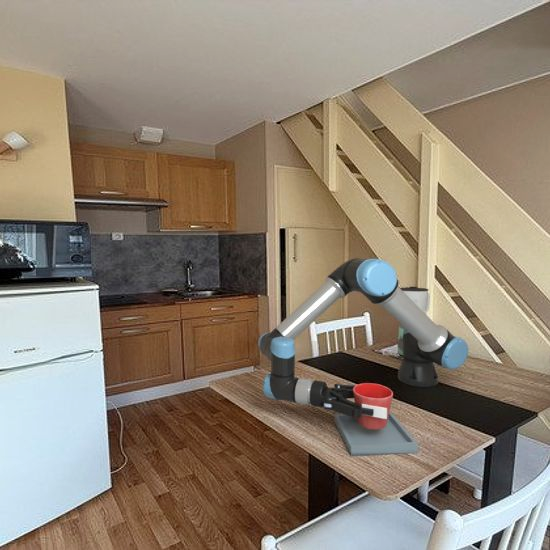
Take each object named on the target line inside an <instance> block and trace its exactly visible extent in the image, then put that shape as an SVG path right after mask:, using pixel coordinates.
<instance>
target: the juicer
mask: <svg viewBox="0 0 550 550" xmlns="http://www.w3.org/2000/svg"><path fill="white" fill-rule="evenodd" d="M399 288H400V289H401V290H402V291H403V292H404V293H405V294H406V295H407V296H408V297H409V298H410V299H411V300H412V301H413V302H414V303H415V304H416V305H417V306H418V307H419V308H420V309H421V310H422V311H423V312H424V313H425V314H427V312H428V311H430V301H431V300H430V293H429V290H430V289H429V288H424V287H417V286H407V287H404V286H403V287H399ZM403 330H404V327H403V326H402V325H401V324H400V323H399V327H398V331H397V332H398V337H397V340H398V341H397V355H398V354H399V355H400V356H402V357H401V358H403Z"/></svg>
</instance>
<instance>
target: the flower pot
mask: <svg viewBox="0 0 550 550" xmlns="http://www.w3.org/2000/svg"><path fill="white" fill-rule="evenodd" d="M353 394H354V398H353V400H354V401H353V402H354V403H356V404H359V405H361V407H362V404H366V405H370V406H378V407H384V408H387V419H388V415H389V412H391V406H392V401H393V398H394V397H393V396H394V392H393V390H391V388H389V387H387V386H385V385H382V384H378V383H370V382H365V383H358V384H356V385H355V387H354V388H353ZM387 419H383V418H378V417H372V416H367V415H362V414H361V418H358V422H359V424H360V425H362V426H363V427H365V428H368V429H382V428H384V427H385V426H386V423H387Z"/></svg>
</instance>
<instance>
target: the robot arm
mask: <svg viewBox="0 0 550 550" xmlns="http://www.w3.org/2000/svg"><path fill="white" fill-rule="evenodd" d="M396 276H397V272H396V270H395V268H394V267H393V266H392V265H391V264H390V263H389V262H387V261H386V260H382V259H379V258H358V257H357V258H351V259H348V260H347V261H345V262H343V263H341V265H339V266H337V267H336V268H335V269H334V270H333V271H332V272H331V273H330V274H328V275H327V276H326V277H325V279H324V281H325V282H324V283H323V284H322V285H321V286H320V287H319V288H318V289H316V291H314V292H313V293H312V294H311V295H310V296H309V297H307V298H306V300H304V301H303V302H302V303H301V304H300V305H299V306H298V307H297V308H296V309H294V311H293V312H291V313H290V314H289V315H288V316H287V317H286V318H284V319H283V321H281V322H280V323H278V325H277V326H276V327H275V328H274V329H273V330H271V332H265V333H262V334H261V336H260V337H259V338H258V341H257V346H258V348H259V350H260V352H261V354H262V355H264V356H265V357H266V358H267V360H268V361H269V362H270V373H267V374H266V375H265V376H264V380H263V385H262V393H263V395H264V396H265V397H266V398H268V399H269V398H270V399H273V400H276V401H285V402H288V403H289V402H290V403H295V404H301V405H302V406H304V405H306V406H310V405H311V407H315V408H321V409H322V408H323V409H324V410H327V411H332V412H335V413H337V414H344V415H348V416H351V417H354V418H361V414H362V415H367V416H372V417H378V418H383V419H387V408H384V407H378V406H370V405H366V404H362V407H361V405H359V404H356V403H355V401H353V400H352V401H351V400H349V399H354V394H353V388H354V387H355V386H356V385H352V384H338V383H335V384H334V387H328V385H327V382H326V381H322V380H313V379H310V378H303V377H298V376H297V377H296V376H295V369H296V368H295V366H296V364H295V363H296V361H295V360H296V345H295V341H294V340H296V338H298V337H299V336H300V335H301V334H302V333H303V332H304V331H305V330H306V329H307V328H308V327H310V326H311V325H312V324H313V323H314V322H315V321H316V320H317V319H318V318H319V317H321V315H322V314H324V313H325V311H326V310H328V309H329V308H330V307H331V306H332V305H333V304H334V303H335V302H336V301H338V299H340V298H341V299H343V298H345V297H346V296H347V295H349V294H350V293H352V292H356V293H357V292H358V293H361V294H362V295H363V296H364V297H366V298H367V299H368V301H370V302H371V303H372V304H373V305H380V306H381V307H382V308H383V309H384V310H385V311H387V313H388V314H390V316H391V317H393V319H395V320H396V321H397V322H398V323H399V325H400V324H401V325H402V326H403V327H404V330H403V357H402V360H401V363H400V366H399V368H398V371H397V379H398V380H399V381H400V382H401V383H403V384H406V385H408V386H413V387H419V388H431V387H435V386H437V385H438V383H439V376H438V372H437V370H436V366H435V364H436V365H438V366H441V367H443V368H444V369H448V370H452V371H453V370H456V369H460V368H461V367H462V366H463V365H464V364H465V362H466V360H467V359H468V354H469V347H468V343H467V342H466V340H465V339H464V338H461V337H459V336H454V335H453V334H452V333H451V332H450V331H449V329H447V328H446V327H445V326H444V325H441V324H436V323H435V322H434V321H433V320H432V319H431V318H430V317H429V316H428V315H427V313H424V312H423V311H422V310H421V309H420V308H419V307H418V306H417V305H416V304H415V303H414V302H413V301H412V300H411V299H410V298H409V297H408V296H407V295H406V294H405V293H404V292H403V291H402V290H401V289H400V288H401V287H399V285H400V282H399V279H398V278H397V277H396Z"/></svg>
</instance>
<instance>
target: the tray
mask: <svg viewBox="0 0 550 550" xmlns="http://www.w3.org/2000/svg"><path fill="white" fill-rule="evenodd" d="M334 424H335V426H336V428H337V430H338V432H339V434H340V436H341V438H342V440H343V442H344V444H345V446H346V447H345V448H347V451H348V453H349V454H350V457H362V456H363V457H364V456H382V455H383V456H384V455H402V454H404V455H406V454H419V442H417V440H416V439H415V438H414V437H413V435H412V434H411V433H410V432H409V431H408V430H407V429H406V428H405V427H404V426H403V424H402V423H401V421H399V420H398V418H397V417H396V416H395V415H394V414H393V412H391V411H389V415H388V419H387V423H386V426H385V427H384V428H382V429H368V428H365V427H363V426H362V425H360V424H359V422H358V418H354V417H351V416H348V415H344V414H341V413H335V414H334Z"/></svg>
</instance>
